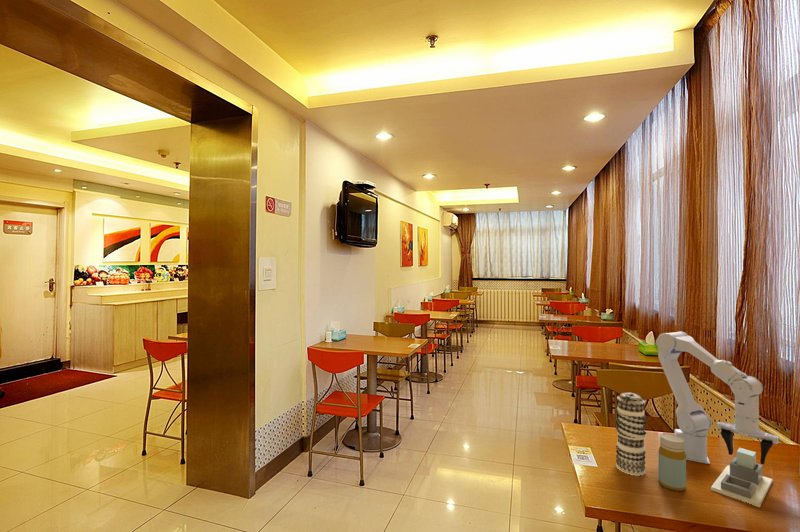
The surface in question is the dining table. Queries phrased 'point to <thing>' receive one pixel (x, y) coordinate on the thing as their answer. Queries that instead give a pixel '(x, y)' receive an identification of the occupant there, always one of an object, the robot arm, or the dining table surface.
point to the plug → (746, 458)
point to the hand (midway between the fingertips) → (746, 458)
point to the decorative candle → (630, 434)
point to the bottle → (672, 462)
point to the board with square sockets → (743, 483)
